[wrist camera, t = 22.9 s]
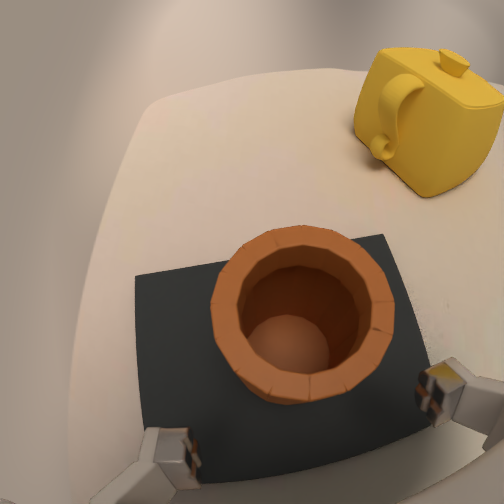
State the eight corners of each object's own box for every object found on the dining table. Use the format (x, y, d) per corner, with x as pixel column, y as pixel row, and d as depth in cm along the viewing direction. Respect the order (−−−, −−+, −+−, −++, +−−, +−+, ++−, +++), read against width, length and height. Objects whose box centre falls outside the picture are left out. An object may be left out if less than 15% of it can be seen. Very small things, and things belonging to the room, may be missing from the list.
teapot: (430, 105, 31) (451, 34, 21) (496, 163, 25) (534, 92, 15) (323, 133, 27) (336, 24, 17) (411, 221, 21) (473, 102, 11)
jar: (246, 412, 15) (225, 417, 7) (231, 321, 17) (202, 240, 10) (343, 391, 15) (416, 368, 7) (321, 304, 18) (361, 215, 10)
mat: (156, 482, 13) (153, 484, 12) (137, 279, 20) (134, 275, 19) (438, 419, 14) (443, 419, 13) (380, 237, 21) (383, 233, 20)
